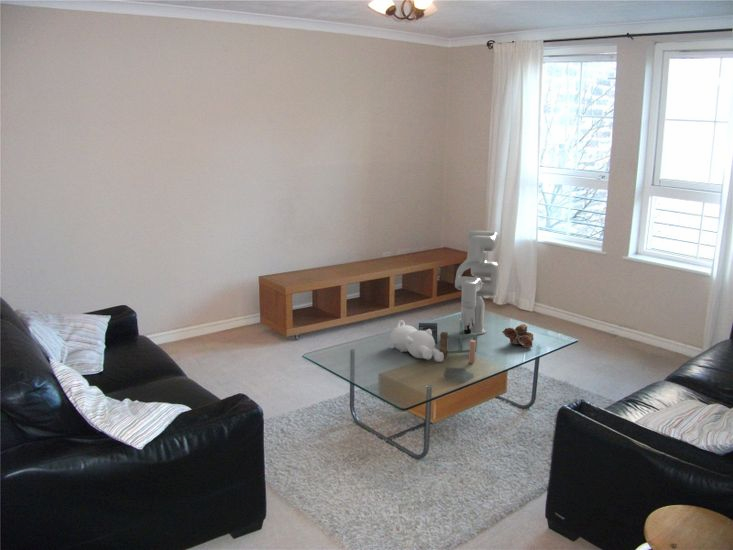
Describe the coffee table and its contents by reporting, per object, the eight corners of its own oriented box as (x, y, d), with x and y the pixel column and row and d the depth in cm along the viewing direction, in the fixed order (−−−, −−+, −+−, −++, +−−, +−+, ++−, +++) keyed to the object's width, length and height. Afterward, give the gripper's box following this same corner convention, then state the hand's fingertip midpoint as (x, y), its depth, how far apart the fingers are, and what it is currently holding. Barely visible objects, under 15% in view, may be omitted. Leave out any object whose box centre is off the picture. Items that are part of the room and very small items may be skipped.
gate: (444, 355, 352) (444, 335, 349) (442, 353, 354) (443, 334, 351) (476, 352, 355) (477, 333, 352) (475, 351, 357) (475, 332, 354)
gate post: (441, 356, 353) (442, 331, 349) (446, 357, 352) (447, 332, 348) (439, 358, 350) (440, 333, 347) (445, 359, 349) (445, 334, 345)
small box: (437, 340, 377) (437, 322, 374) (437, 344, 371) (437, 326, 368) (418, 339, 378) (418, 322, 375) (418, 343, 372) (418, 326, 369)
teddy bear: (417, 367, 336) (377, 341, 363) (440, 373, 347) (400, 347, 374) (431, 333, 334) (390, 309, 361) (454, 340, 345) (413, 316, 372)
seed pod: (495, 329, 372) (512, 329, 357) (519, 318, 379) (537, 317, 364) (503, 353, 373) (520, 354, 358) (527, 341, 380) (545, 342, 365)
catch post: (470, 361, 346) (471, 339, 343) (474, 362, 345) (475, 340, 342) (469, 363, 344) (469, 341, 341) (473, 363, 343) (474, 342, 340)
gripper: (457, 299, 357) (456, 331, 362) (466, 308, 343) (465, 341, 348) (470, 299, 358) (469, 331, 363) (480, 307, 344) (478, 340, 349)
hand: (467, 336), depth 356 cm, fingers closed
